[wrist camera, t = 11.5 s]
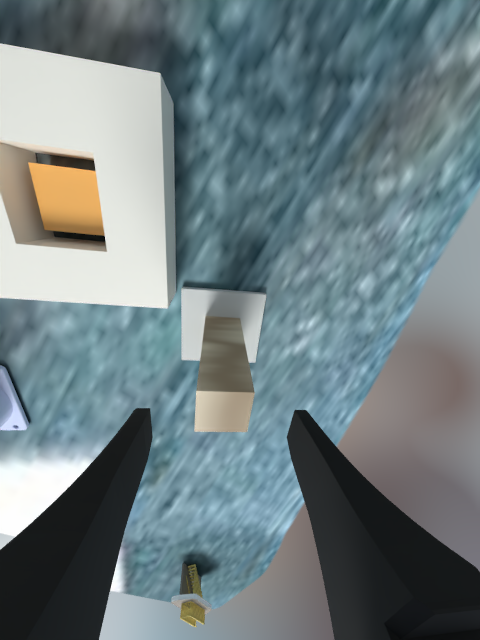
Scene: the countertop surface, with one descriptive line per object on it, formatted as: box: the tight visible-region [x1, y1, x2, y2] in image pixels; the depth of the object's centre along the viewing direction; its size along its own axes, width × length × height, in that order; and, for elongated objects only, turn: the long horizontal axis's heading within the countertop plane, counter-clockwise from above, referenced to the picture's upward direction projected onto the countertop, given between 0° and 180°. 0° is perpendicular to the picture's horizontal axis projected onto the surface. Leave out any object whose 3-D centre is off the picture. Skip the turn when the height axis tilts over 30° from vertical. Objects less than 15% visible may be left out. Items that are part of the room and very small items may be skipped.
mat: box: [181, 287, 266, 363], centre depth 21 cm, size 7×7×1 cm
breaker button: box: [28, 162, 105, 236], centre depth 15 cm, size 4×4×2 cm
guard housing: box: [0, 43, 176, 308], centre depth 14 cm, size 12×12×4 cm
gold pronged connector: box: [171, 563, 211, 627], centre depth 41 cm, size 12×18×7 cm, turn 19°
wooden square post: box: [195, 316, 255, 432], centre depth 16 cm, size 3×3×9 cm
